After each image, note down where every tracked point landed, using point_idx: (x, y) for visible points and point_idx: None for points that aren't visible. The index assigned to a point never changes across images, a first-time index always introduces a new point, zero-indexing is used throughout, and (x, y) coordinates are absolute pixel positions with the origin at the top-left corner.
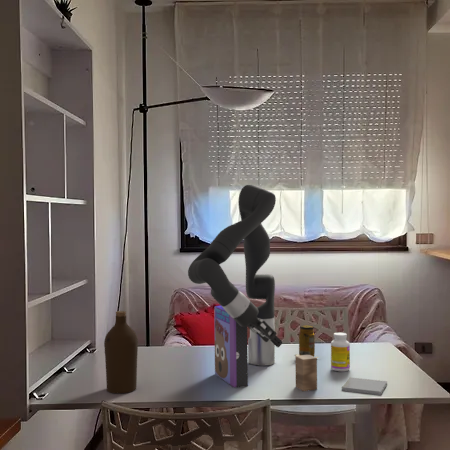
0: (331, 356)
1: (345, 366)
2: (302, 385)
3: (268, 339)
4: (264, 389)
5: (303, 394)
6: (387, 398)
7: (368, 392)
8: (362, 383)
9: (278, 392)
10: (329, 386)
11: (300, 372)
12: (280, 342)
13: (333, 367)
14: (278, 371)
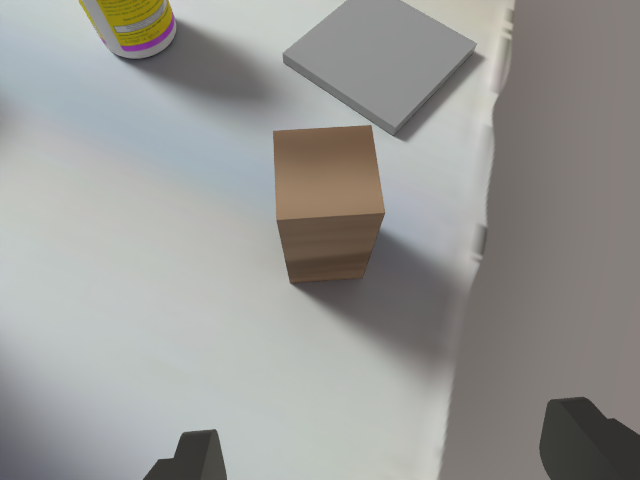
0: (103, 11)
1: (171, 14)
2: (360, 270)
3: (221, 459)
4: (276, 456)
5: (406, 295)
6: (510, 52)
7: (450, 74)
8: (370, 50)
9: (347, 399)
10: None
11: (343, 250)
12: (629, 439)
13: (140, 49)
14: (21, 261)
